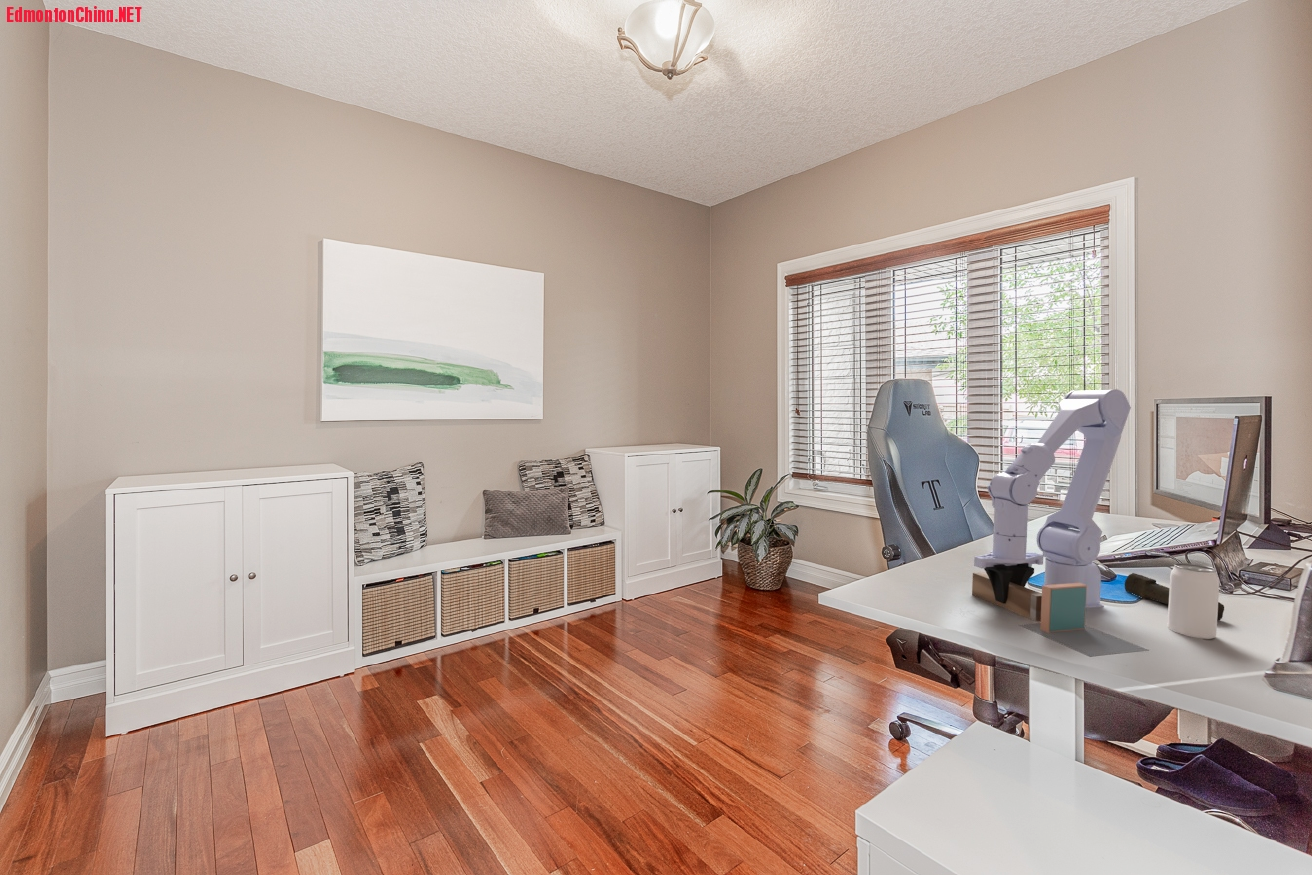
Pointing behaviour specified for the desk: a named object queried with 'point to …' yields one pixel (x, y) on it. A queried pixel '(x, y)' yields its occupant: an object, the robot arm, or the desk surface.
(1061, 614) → the tile
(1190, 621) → the can
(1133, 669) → the desk surface
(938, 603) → the desk surface
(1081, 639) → the mat
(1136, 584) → the hand tool
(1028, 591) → the wooden plank
